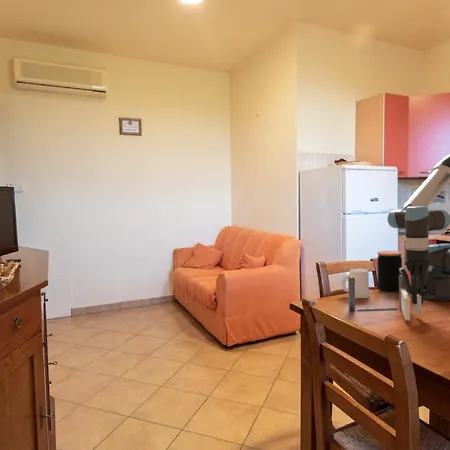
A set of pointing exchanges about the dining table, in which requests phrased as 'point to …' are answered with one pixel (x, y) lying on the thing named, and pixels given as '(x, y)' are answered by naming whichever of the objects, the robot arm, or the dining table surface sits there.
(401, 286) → the posts and sill
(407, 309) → the gate
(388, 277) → the coffee jar
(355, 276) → the mug
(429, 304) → the dining table surface
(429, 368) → the dining table surface
